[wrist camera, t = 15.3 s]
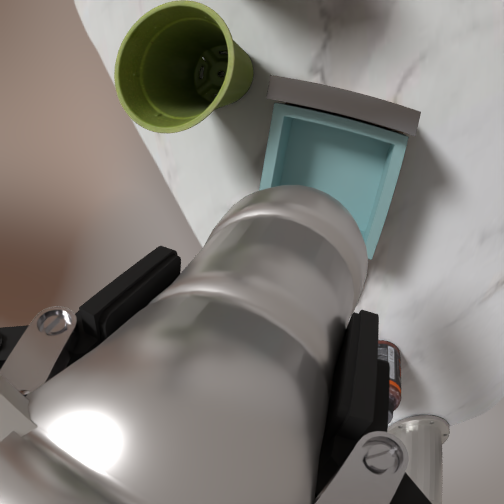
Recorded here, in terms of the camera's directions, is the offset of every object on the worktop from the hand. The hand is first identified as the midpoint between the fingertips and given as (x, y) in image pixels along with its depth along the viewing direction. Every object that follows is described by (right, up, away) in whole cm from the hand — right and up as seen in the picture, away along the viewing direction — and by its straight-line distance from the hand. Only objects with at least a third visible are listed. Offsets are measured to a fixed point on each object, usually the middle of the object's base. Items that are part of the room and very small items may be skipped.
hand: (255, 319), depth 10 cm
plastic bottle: (+2, +3, +6) cm, 7 cm away
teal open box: (+8, +10, +21) cm, 25 cm away
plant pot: (-3, +22, +22) cm, 31 cm away
